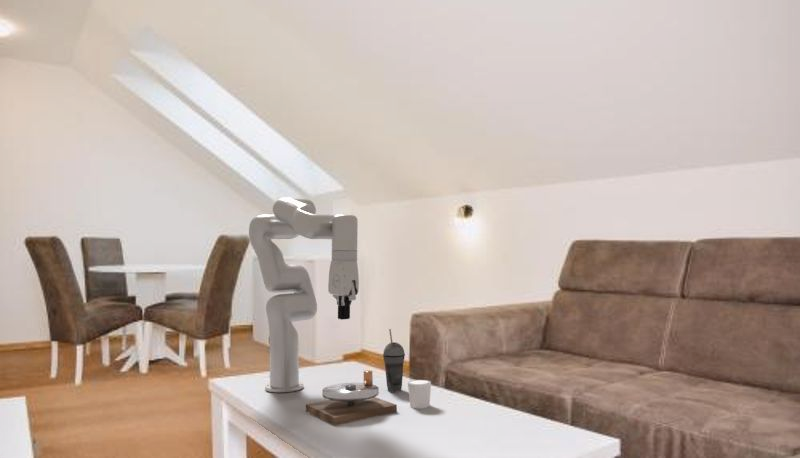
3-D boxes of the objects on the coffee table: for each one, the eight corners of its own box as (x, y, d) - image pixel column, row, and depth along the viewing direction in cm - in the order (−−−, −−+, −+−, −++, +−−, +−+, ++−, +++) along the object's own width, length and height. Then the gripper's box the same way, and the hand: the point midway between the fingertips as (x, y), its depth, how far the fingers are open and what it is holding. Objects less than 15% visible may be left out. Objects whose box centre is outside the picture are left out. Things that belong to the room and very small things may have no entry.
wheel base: (305, 411, 165) (305, 394, 165) (364, 400, 177) (364, 384, 177) (334, 425, 151) (334, 407, 152) (396, 411, 163) (396, 395, 163)
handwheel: (345, 404, 153) (345, 384, 153) (311, 394, 165) (311, 375, 165) (390, 393, 164) (389, 374, 164) (355, 384, 176) (355, 366, 176)
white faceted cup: (434, 404, 171) (434, 380, 171) (426, 410, 165) (425, 385, 165) (413, 401, 174) (413, 378, 174) (404, 407, 168) (403, 383, 168)
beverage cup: (403, 393, 184) (402, 330, 185) (381, 392, 185) (380, 330, 186) (407, 388, 191) (406, 327, 192) (386, 387, 193) (385, 327, 193)
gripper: (320, 255, 173) (319, 316, 173) (347, 257, 162) (347, 323, 162) (341, 255, 178) (340, 314, 178) (369, 257, 166) (368, 321, 166)
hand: (343, 318), depth 170 cm, fingers closed
